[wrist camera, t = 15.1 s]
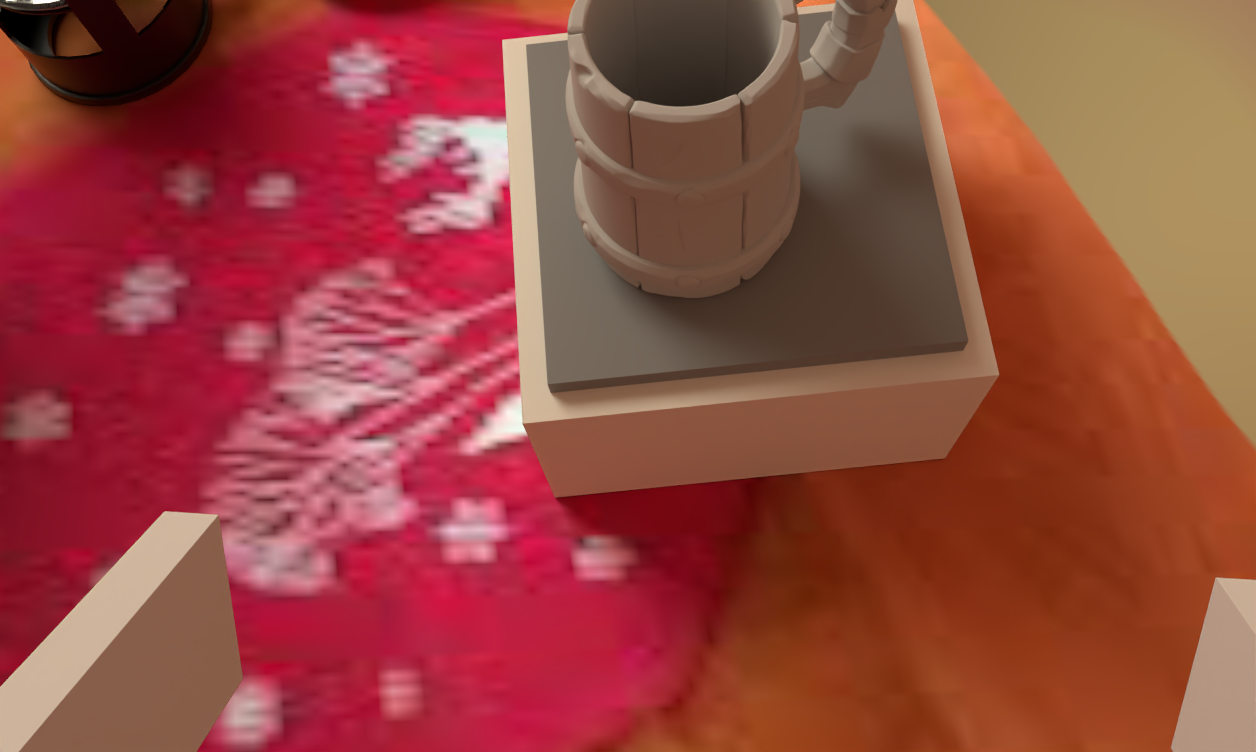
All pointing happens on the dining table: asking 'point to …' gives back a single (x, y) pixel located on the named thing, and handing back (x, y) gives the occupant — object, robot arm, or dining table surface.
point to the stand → (754, 301)
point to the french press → (108, 47)
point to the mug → (700, 128)
